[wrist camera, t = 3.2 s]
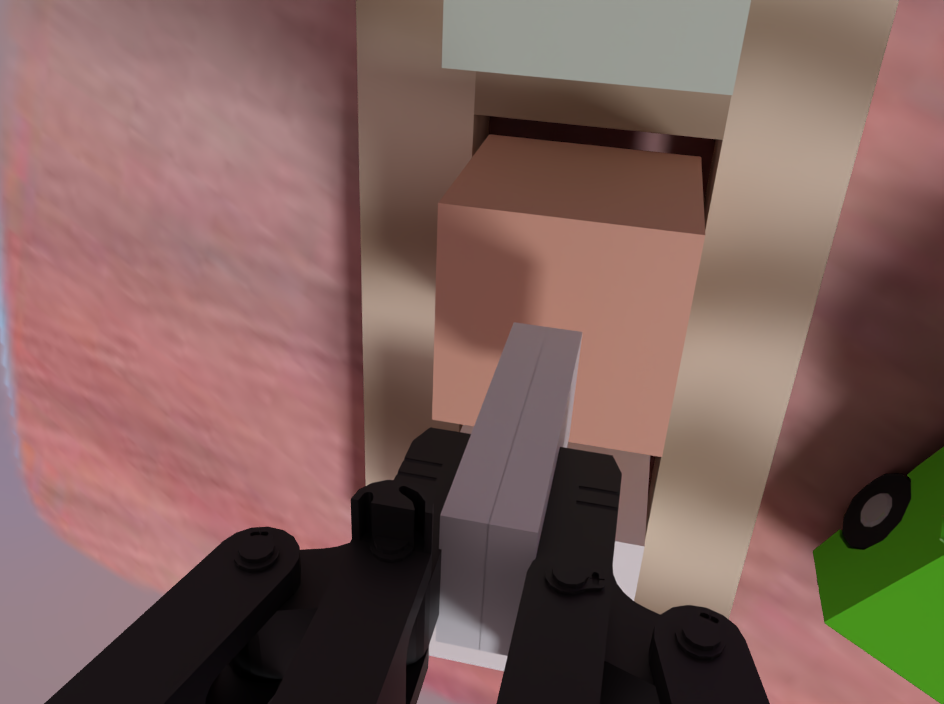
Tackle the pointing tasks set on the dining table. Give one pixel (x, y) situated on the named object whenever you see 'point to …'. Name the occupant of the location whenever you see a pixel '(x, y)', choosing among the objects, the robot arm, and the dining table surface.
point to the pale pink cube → (625, 549)
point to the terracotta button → (570, 277)
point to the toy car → (891, 574)
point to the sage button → (600, 40)
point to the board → (721, 266)
